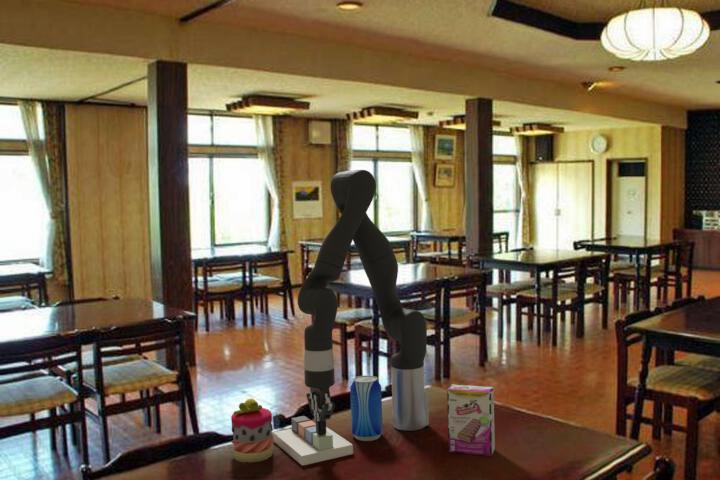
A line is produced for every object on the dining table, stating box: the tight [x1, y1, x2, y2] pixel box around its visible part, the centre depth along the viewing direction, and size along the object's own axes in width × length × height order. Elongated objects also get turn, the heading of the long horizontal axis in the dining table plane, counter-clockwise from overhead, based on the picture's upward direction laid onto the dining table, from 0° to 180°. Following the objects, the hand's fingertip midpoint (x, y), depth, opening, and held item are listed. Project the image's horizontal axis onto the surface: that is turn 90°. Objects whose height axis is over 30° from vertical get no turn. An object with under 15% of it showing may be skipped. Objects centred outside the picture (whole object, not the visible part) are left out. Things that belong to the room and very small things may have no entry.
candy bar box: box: [446, 384, 496, 457], centre depth 170 cm, size 11×5×16 cm, turn 71°
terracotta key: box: [298, 420, 316, 440], centre depth 180 cm, size 4×4×4 cm
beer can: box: [349, 375, 384, 442], centre depth 184 cm, size 8×8×16 cm
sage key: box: [313, 431, 333, 451], centre depth 171 cm, size 4×4×4 cm
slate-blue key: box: [305, 426, 316, 445], centre depth 176 cm, size 4×4×4 cm
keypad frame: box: [272, 426, 354, 466], centre depth 178 cm, size 14×20×2 cm
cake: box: [230, 398, 275, 463], centre depth 174 cm, size 10×11×15 cm
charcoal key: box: [291, 415, 311, 434], centre depth 184 cm, size 4×4×4 cm
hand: (321, 434), depth 171 cm, fingers closed
